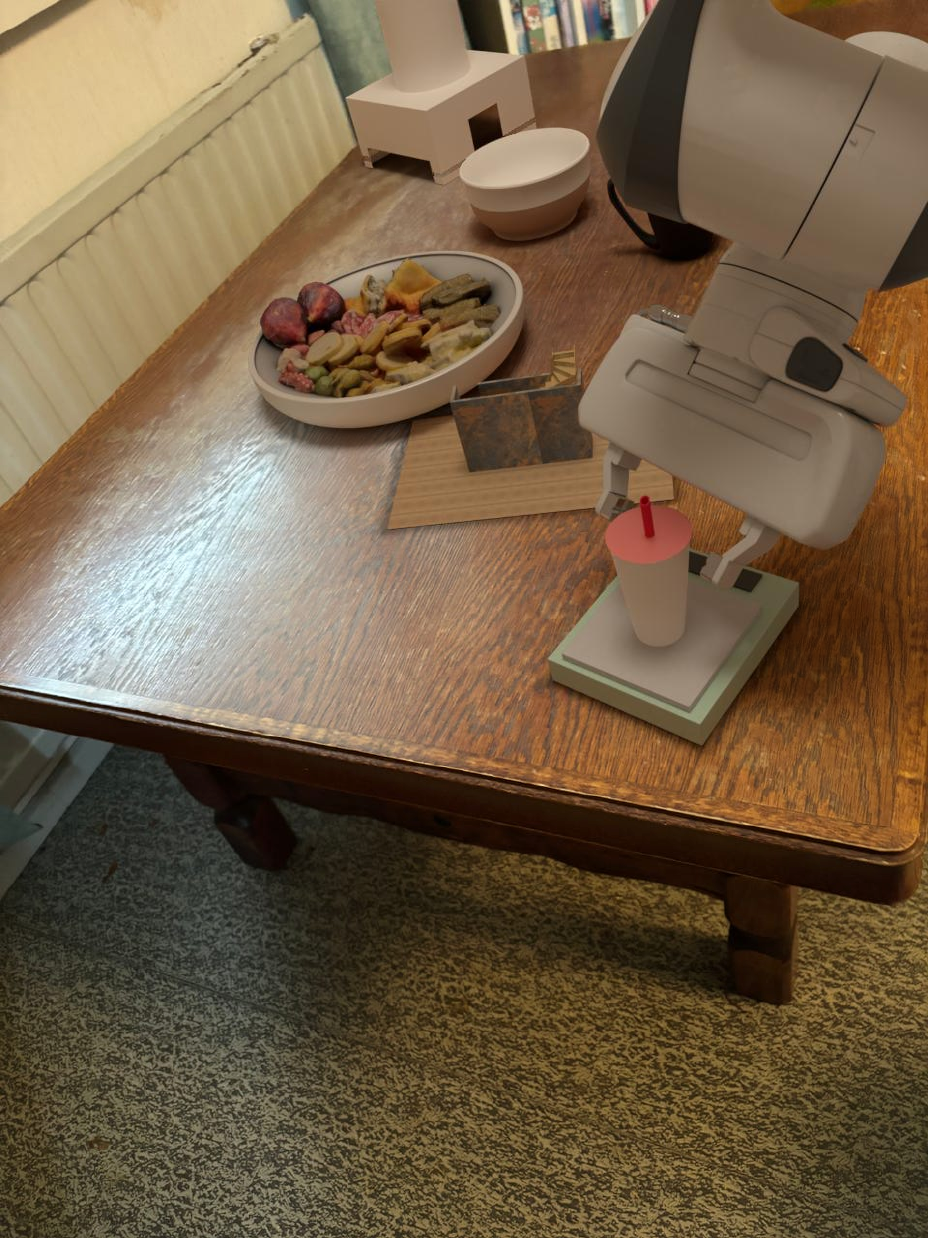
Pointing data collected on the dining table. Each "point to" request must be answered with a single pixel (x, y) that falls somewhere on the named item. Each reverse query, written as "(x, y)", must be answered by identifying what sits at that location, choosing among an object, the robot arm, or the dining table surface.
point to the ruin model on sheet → (511, 455)
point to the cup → (652, 569)
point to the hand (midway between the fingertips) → (658, 550)
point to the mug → (666, 233)
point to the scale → (678, 651)
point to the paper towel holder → (435, 88)
